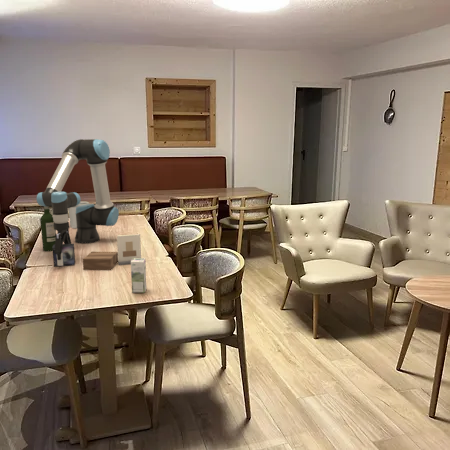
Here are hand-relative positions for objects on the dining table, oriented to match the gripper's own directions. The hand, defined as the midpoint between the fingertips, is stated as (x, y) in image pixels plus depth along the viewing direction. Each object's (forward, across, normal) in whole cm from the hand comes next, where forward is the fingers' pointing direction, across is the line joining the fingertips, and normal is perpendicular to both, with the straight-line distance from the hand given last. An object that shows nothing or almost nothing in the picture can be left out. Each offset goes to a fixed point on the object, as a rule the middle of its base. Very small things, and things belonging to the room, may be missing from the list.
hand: (64, 262), depth 232 cm
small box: (+2, 0, 0) cm, 2 cm away
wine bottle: (+1, -29, -18) cm, 34 cm away
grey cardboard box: (+1, -2, +34) cm, 34 cm away
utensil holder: (+1, -92, -19) cm, 94 cm away
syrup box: (+1, +40, +46) cm, 61 cm away
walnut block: (+2, +3, +20) cm, 20 cm away
